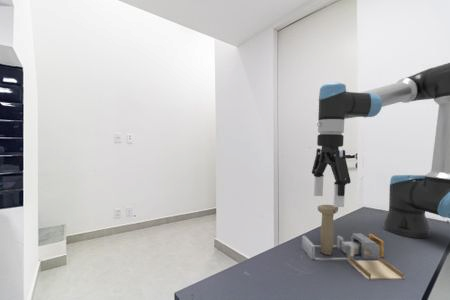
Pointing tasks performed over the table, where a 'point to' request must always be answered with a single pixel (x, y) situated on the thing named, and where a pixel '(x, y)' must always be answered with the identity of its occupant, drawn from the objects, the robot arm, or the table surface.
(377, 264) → the tan base plate
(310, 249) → the silver rectangular frame
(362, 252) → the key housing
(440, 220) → the table surface
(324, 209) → the handle
